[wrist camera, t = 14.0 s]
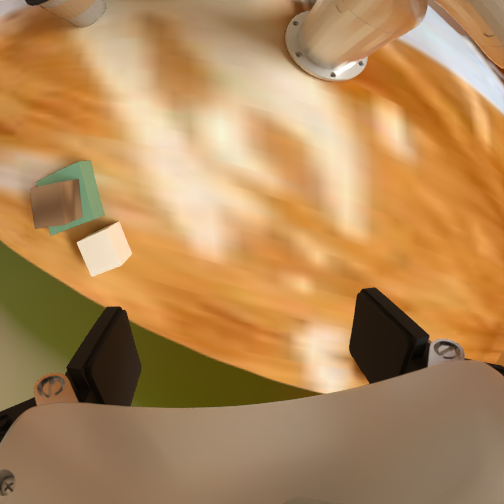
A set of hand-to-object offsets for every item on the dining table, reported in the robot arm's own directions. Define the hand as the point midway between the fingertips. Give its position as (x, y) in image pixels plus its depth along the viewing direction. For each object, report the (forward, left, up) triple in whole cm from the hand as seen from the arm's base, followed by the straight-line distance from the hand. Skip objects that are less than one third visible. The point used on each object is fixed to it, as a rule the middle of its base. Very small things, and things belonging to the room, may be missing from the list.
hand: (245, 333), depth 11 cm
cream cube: (+3, -17, -28) cm, 33 cm away
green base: (-4, -22, -29) cm, 36 cm away
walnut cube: (-4, -22, -25) cm, 33 cm away
